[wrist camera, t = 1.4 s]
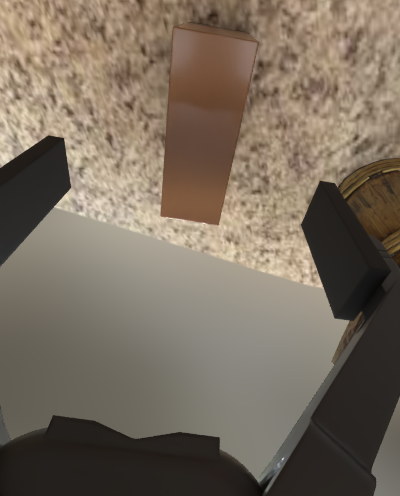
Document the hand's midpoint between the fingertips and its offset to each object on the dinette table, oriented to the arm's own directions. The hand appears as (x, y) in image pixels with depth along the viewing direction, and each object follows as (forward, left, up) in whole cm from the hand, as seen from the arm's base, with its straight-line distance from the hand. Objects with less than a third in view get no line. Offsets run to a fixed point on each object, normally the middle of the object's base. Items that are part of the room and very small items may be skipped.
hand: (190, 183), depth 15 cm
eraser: (0, 0, -13) cm, 13 cm away
